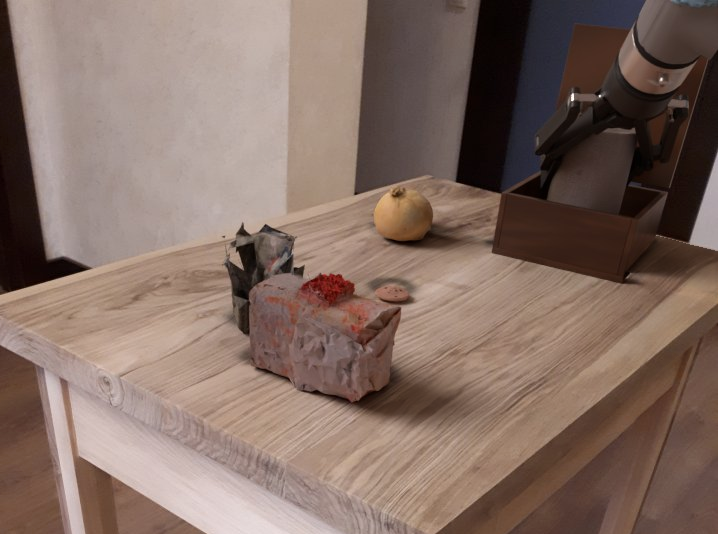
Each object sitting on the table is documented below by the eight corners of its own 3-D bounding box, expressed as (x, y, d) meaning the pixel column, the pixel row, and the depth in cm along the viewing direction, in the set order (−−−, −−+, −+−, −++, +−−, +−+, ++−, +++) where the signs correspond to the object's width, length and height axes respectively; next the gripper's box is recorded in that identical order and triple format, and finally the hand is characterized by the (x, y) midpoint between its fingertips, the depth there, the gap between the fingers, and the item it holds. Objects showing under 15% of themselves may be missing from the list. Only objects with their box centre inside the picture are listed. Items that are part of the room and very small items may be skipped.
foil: (179, 297, 80) (237, 184, 84) (216, 358, 89) (267, 254, 94) (282, 317, 76) (338, 198, 81) (310, 378, 85) (358, 268, 90)
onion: (382, 225, 113) (387, 173, 109) (436, 234, 111) (443, 182, 107) (364, 241, 107) (369, 187, 103) (421, 251, 105) (428, 196, 101)
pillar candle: (525, 226, 109) (548, 106, 100) (580, 220, 113) (607, 104, 104) (572, 249, 102) (601, 122, 93) (628, 241, 106) (662, 119, 97)
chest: (621, 283, 100) (638, 220, 95) (491, 252, 107) (501, 192, 102) (651, 249, 112) (668, 191, 107) (532, 223, 118) (543, 168, 114)
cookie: (407, 305, 90) (408, 297, 89) (371, 300, 90) (372, 292, 90) (411, 293, 93) (412, 284, 92) (377, 288, 93) (378, 280, 93)
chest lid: (713, 38, 97) (714, 39, 98) (574, 23, 104) (576, 23, 105) (668, 188, 107) (669, 188, 107) (543, 165, 113) (545, 165, 114)
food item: (405, 384, 74) (416, 282, 69) (361, 418, 69) (370, 311, 63) (285, 344, 80) (287, 247, 74) (236, 373, 74) (234, 270, 68)
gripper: (547, 91, 83) (498, 203, 105) (755, 105, 84) (663, 213, 106) (547, 27, 85) (499, 151, 107) (752, 41, 85) (662, 162, 107)
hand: (581, 182), depth 106 cm, fingers closed on pillar candle, 9 cm apart
